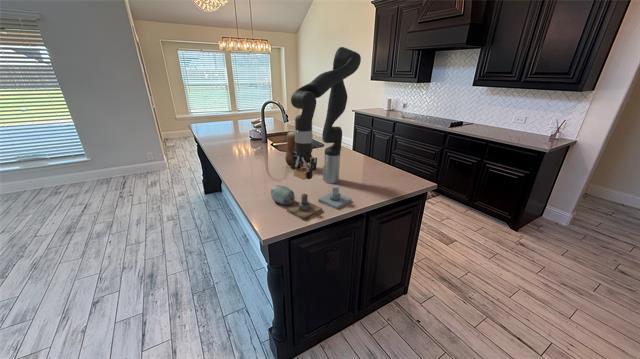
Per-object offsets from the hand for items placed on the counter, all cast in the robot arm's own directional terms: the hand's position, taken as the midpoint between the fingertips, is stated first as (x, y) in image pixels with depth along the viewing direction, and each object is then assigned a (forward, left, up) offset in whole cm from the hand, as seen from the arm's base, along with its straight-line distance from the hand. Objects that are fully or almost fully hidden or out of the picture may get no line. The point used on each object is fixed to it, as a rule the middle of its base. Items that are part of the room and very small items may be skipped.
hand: (303, 176), depth 114 cm
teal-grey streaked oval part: (-15, -1, -18) cm, 23 cm away
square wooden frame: (0, 0, 0) cm, 0 cm away
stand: (0, 0, -18) cm, 18 cm away
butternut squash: (-49, +39, -18) cm, 65 cm away
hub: (+4, +18, -18) cm, 26 cm away
